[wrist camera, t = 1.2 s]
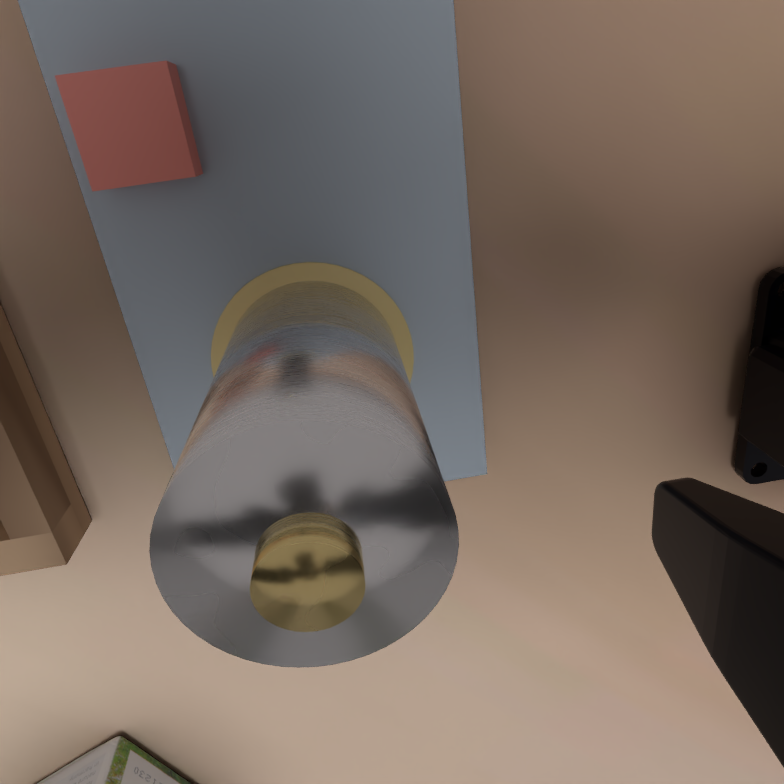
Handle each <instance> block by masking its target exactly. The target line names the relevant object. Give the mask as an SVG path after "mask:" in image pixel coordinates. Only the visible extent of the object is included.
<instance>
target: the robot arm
mask: <svg viewBox="0 0 784 784" xmlns="http://www.w3.org/2000/svg"><path fill="white" fill-rule="evenodd" d="M783 282H784V267H779V268H776V269H773V270H771V271H770V272H769V273H767V274H766V275H765V276H764V278H763V279H762V281H761V282H760V285H759V289H758V295H757V303H756V310H755V317H754V325H753V332H752V339H751V347H750V354H749V357H748V364H747V371H746V379H745V386H744V393H743V401H742V408H741V415H740V423H739V435H738V442H737V450H736V457H735V464H734V468H735V472H736V473H737V475H739V476H740V477H741V478H742V479H743V480H745V481H746V482H748V483H750V484H759V483H765V482H770V481H776V480H782V479H784V290H783V291H782V292H781V293H780V294H778V289H779V287H780V286H781V285H782V284H783ZM755 464H757V465H756V466H755V467H754V468H753V469H752V467H753V466H754V465H755ZM652 540H653V544H654V547H655V550H656V552H657V554H658V556H659V558H660V560H661V562H662V564H663V566H664V568H665V570H666V572H667V573H668V575H669V577H670V579H671V581H672V583H673V585H674V587H675V589H676V591H677V593H678V595H679V597H680V598H681V600H682V602H683V604H684V606H685V608H686V610H687V612H688V614H689V616H690V618H691V620H692V621H693V623H694V625H695V627H696V629H697V631H698V633H699V635H700V637H701V639H702V641H703V642H704V644H705V646H706V648H707V650H708V651H709V653H710V655H711V657H712V658H713V660H714V662H715V663H716V665H717V666H718V668H719V670H720V671H721V673H722V674H723V676H724V677H725V679H726V681H727V682H728V684H729V685H730V687H731V688H732V690H733V691H734V693H735V694H736V696H737V697H738V699H739V700H740V702H741V703H742V705H743V706H744V708H745V709H746V711H747V712H748V714H749V715H750V717H751V718H752V720H753V721H754V723H755V725H756V726H757V728H758V729H759V731H760V732H761V734H762V735H763V737H764V738H765V740H766V741H767V743H768V744H769V746H770V747H771V749H772V750H773V752H774V753H775V755H776V756H777V758H778V759H779V761H780V762H781V764H782V766H783V767H784V513H781V512H779V511H776V510H773V509H771V508H768V507H766V506H763V505H760V504H758V503H755V502H753V501H750V500H747V499H745V498H742V497H740V496H737V495H734V494H732V493H729V492H727V491H724V490H721V489H719V488H716V487H714V486H711V485H709V484H706V483H703V482H701V481H698V480H696V479H693V478H681V479H675V480H669V481H663V482H661V483H659V484H658V485H657V487H656V489H655V493H654V507H653V521H652Z"/></svg>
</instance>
